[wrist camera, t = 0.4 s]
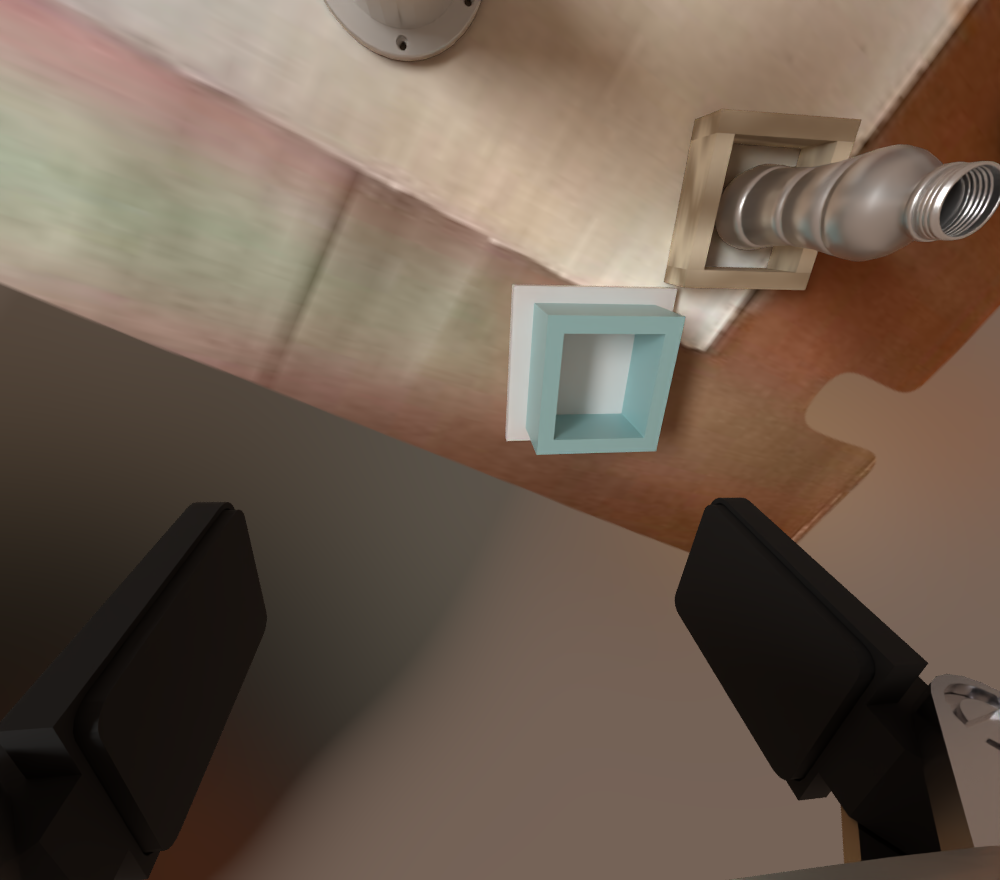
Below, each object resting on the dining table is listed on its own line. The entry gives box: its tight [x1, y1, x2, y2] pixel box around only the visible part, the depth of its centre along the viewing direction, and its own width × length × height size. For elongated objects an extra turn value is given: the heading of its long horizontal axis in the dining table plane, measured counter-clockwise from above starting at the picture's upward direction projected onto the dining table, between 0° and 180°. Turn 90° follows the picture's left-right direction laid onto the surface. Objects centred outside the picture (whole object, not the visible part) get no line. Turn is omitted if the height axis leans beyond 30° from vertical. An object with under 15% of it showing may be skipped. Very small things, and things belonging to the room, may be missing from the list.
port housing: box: [505, 284, 685, 455], centre depth 42 cm, size 16×16×7 cm
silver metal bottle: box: [715, 144, 1000, 261], centre depth 32 cm, size 6×7×20 cm
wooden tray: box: [664, 109, 861, 290], centre depth 39 cm, size 13×12×4 cm
